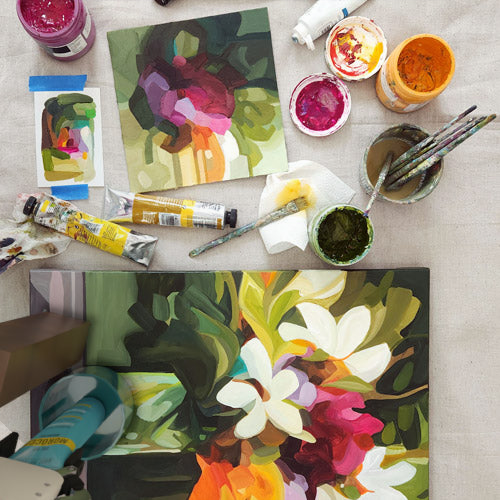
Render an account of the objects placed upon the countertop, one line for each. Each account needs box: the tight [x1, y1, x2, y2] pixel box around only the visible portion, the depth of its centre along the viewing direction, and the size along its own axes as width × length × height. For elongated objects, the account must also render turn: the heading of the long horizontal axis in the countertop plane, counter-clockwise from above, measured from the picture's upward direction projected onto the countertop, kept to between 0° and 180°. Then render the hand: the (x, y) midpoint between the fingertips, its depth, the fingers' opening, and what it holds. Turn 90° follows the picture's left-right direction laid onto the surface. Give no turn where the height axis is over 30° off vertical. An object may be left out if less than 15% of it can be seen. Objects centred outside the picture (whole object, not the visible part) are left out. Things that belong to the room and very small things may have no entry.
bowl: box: [37, 365, 135, 462], centre depth 66 cm, size 12×12×5 cm
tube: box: [8, 397, 105, 471], centre depth 58 cm, size 7×5×19 cm, turn 100°
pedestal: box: [0, 310, 91, 409], centre depth 58 cm, size 7×6×23 cm
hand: (45, 453), depth 53 cm, fingers closed on tube, 7 cm apart
